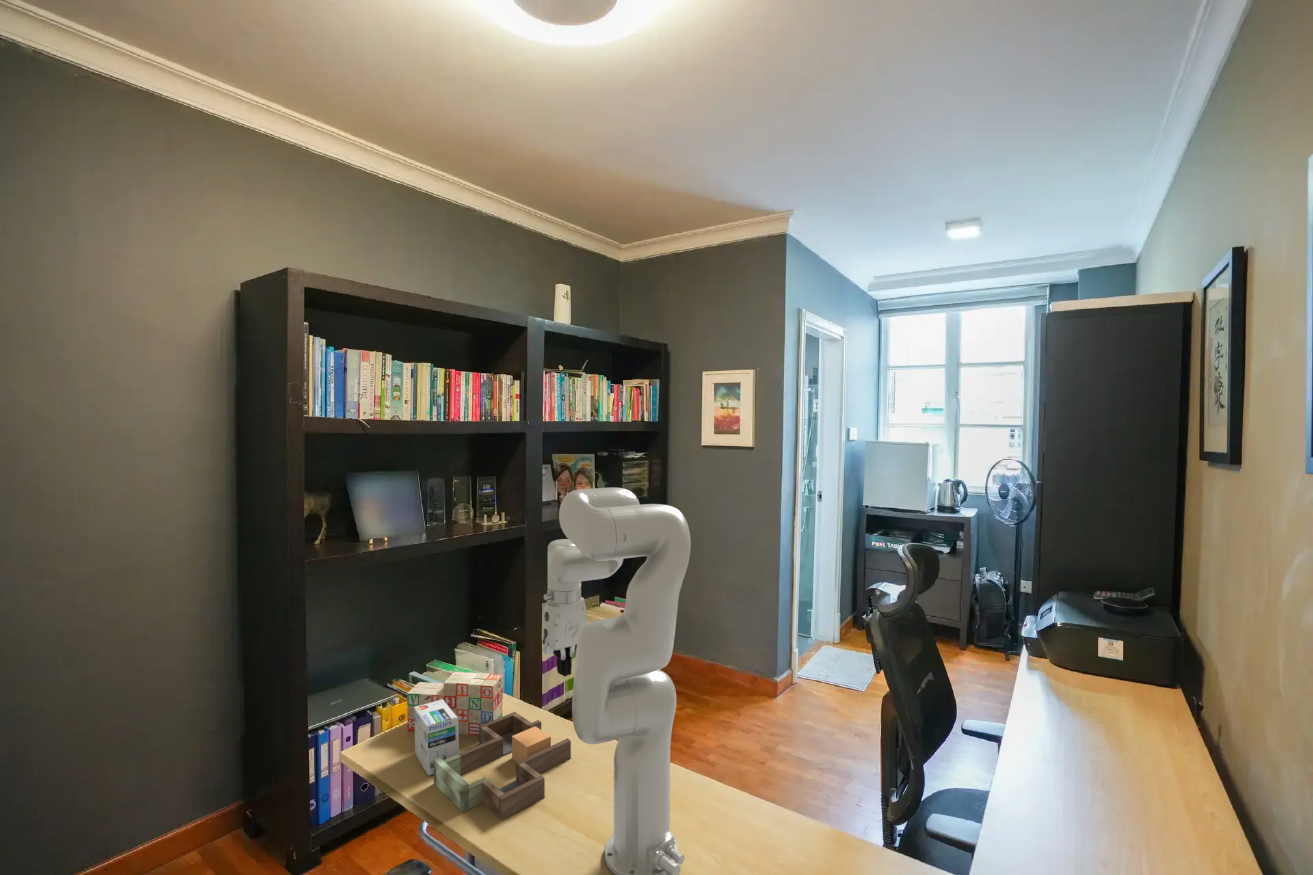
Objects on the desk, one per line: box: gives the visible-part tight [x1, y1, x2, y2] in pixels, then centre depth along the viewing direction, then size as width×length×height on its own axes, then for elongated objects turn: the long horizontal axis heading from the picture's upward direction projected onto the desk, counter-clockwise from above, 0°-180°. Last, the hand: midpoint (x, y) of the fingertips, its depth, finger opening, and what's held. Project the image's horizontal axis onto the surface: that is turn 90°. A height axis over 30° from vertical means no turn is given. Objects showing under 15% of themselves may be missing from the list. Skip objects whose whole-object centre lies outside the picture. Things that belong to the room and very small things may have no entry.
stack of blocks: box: [406, 671, 504, 736], centre depth 144 cm, size 21×6×12 cm, turn 84°
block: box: [511, 726, 552, 762], centre depth 131 cm, size 6×6×5 cm
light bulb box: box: [414, 699, 460, 776], centre depth 130 cm, size 11×7×11 cm, turn 37°
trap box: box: [433, 711, 572, 821], centre depth 126 cm, size 27×25×5 cm
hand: (564, 673), depth 137 cm, fingers closed
